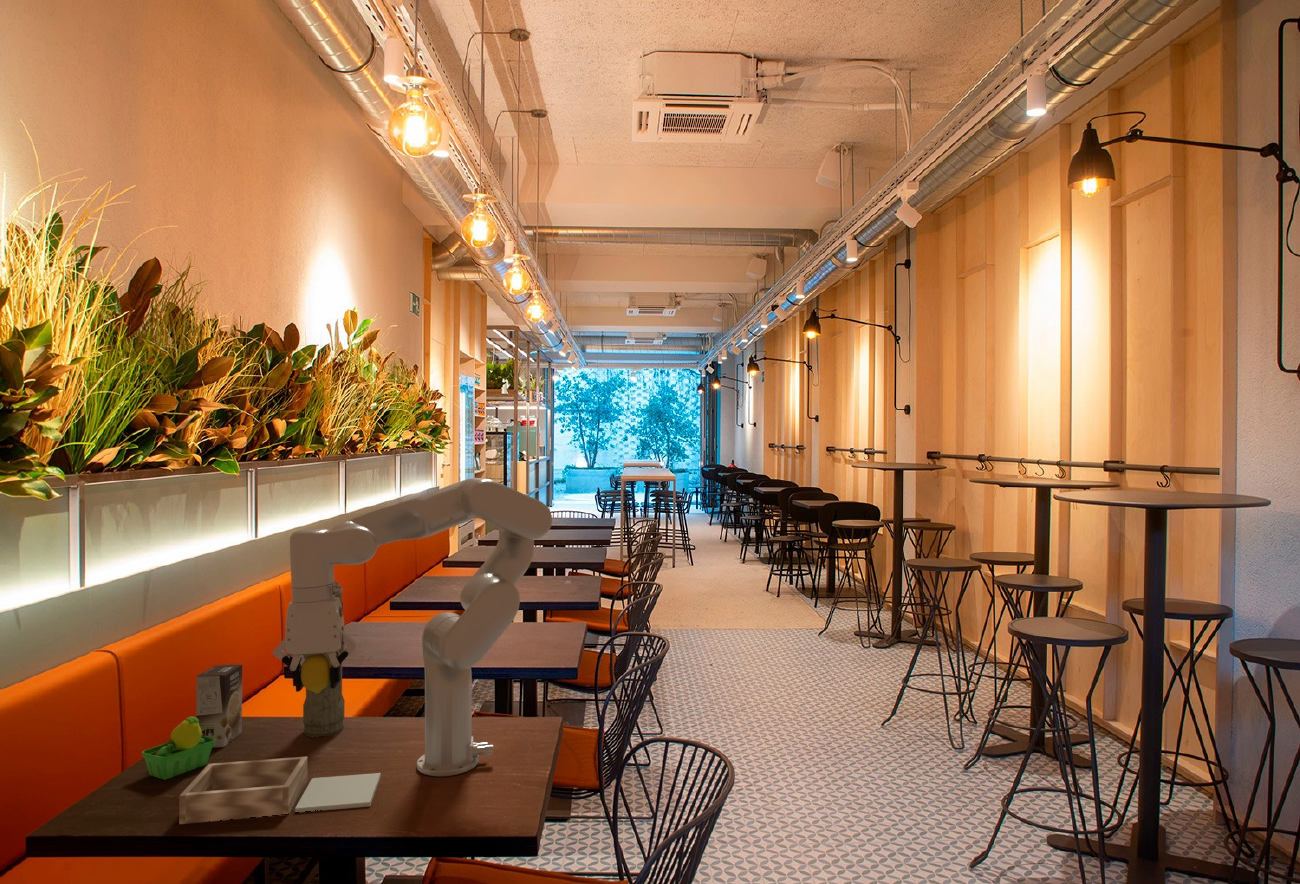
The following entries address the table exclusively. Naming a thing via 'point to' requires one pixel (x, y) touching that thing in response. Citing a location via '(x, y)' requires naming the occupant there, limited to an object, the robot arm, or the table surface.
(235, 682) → the coffee box
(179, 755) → the fruit basket
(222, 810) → the brown wooden tray
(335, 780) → the board
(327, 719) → the thermos
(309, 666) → the lemon
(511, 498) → the robot arm
